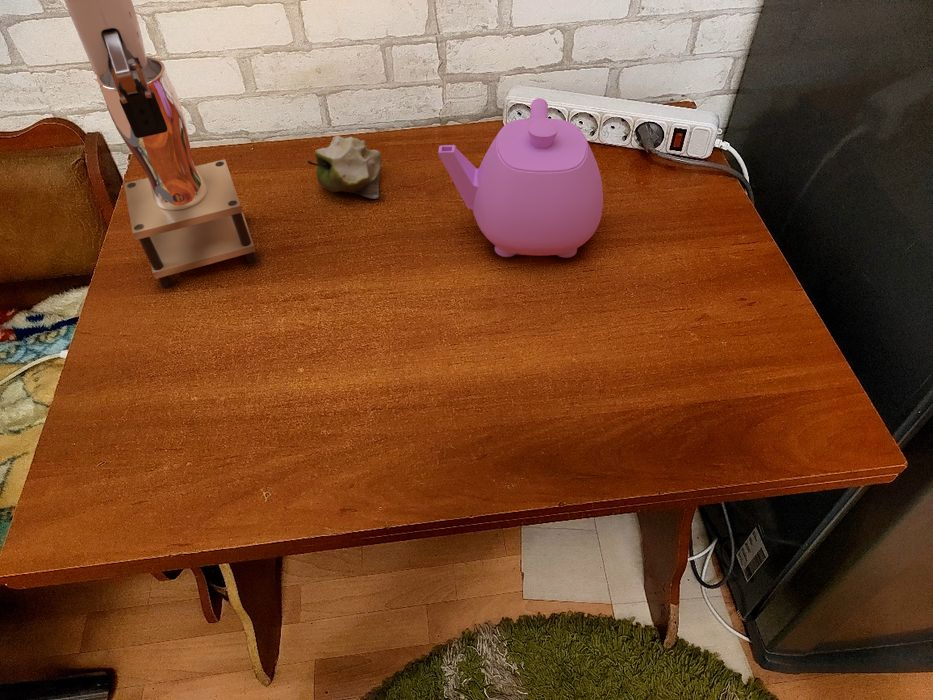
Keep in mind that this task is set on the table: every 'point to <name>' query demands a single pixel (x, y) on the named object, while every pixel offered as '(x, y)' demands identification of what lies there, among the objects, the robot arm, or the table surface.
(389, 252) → the table surface
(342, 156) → the fruit
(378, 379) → the table surface
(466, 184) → the teapot
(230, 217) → the rack
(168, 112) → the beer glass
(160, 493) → the table surface
